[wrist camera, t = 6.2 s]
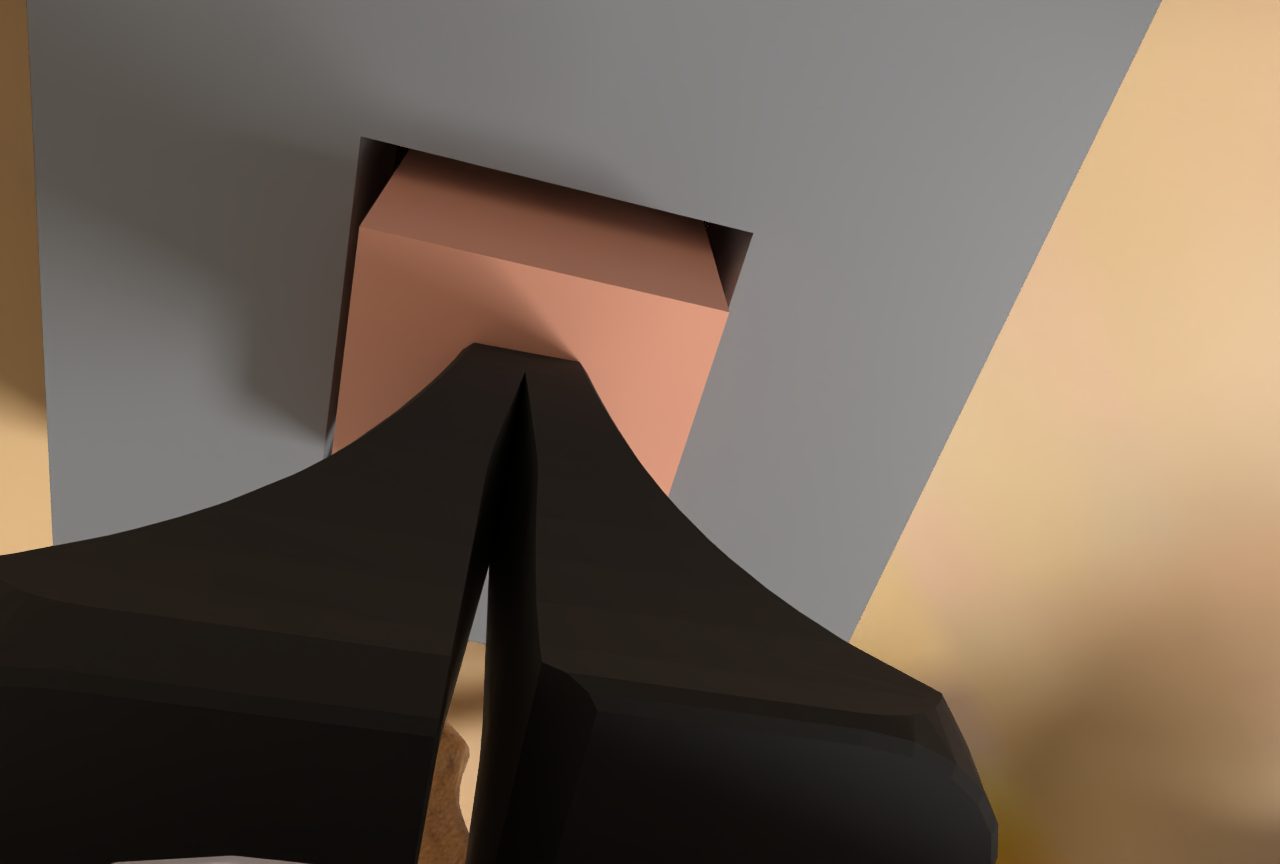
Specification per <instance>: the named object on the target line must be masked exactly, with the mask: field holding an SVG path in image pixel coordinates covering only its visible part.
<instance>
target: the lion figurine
mask: <svg viewBox="0 0 1280 864" xmlns="http://www.w3.org/2000/svg"><path fill="white" fill-rule="evenodd" d="M468 759H469V747H468V745H467V744H466V742H465V740H464V739H463V738H462V737H461V736H460V735H459V734H458V733H457V731H456V730H455V729H454V728H453V727H452V726H451V725H450V723H449V722H448V721H447V720H445V724H444V728H443V733H442V737H441V741H440V745H439V750H438V754H437V759H436V765H435V770H434V776H433V781H432V787H431V793H430V798H429V804H428V809H427V815H426V820H425V826H424V832H423V837H422V843H421V848H420V854H419V860H418V864H465V860H466V853H467V846H468V839H469V832H468V830H467V827H466V825H465V822H464V819H463V816H462V813H461V809H460V805H459V793H460V784H461V779H462V775H463V772H464V770H465V767H466V764H467V762H468Z"/></svg>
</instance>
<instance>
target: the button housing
mask: <svg viewBox="0 0 1280 864" xmlns="http://www.w3.org/2000/svg"><path fill="white" fill-rule="evenodd" d="M26 1H27V21H28V42H29V62H30V83H31V103H32V124H33V144H34V165H35V185H36V206H37V226H38V247H39V267H40V288H41V308H42V329H43V349H44V370H45V390H46V411H47V431H48V452H49V472H50V493H51V513H52V534H53V546H55V545H61V544H66V543H71V542H76V541H81V540H87V539H92V538H97V537H102V536H107V535H111V534H116V533H120V532H124V531H128V530H132V529H136V528H140V527H144V526H147V525H151V524H155V523H158V522H162V521H166V520H169V519H173V518H177V517H180V516H183V515H186V514H190V513H193V512H196V511H199V510H202V509H205V508H209V507H212V506H215V505H218V504H221V503H224V502H226V501H229V500H232V499H234V498H236V497H239V496H241V495H244V494H246V493H249V492H251V491H254V490H256V489H259V488H261V487H264V486H266V485H269V484H271V483H274V482H276V481H279V480H281V479H283V478H286V477H288V476H291V475H293V474H295V473H297V472H300V471H302V470H304V469H306V468H308V467H310V466H312V465H314V464H315V463H317V462H319V461H321V460H323V459H325V458H327V457H329V456H331V455H332V447H333V439H334V431H335V423H336V414H337V406H338V398H339V390H340V382H341V373H342V365H343V357H344V349H345V341H346V332H347V324H348V316H349V308H350V299H351V291H352V283H353V275H354V267H355V258H356V250H357V242H358V234H359V226H360V225H361V223H362V222H363V220H364V219H365V217H366V216H367V214H368V212H369V211H370V209H371V208H372V206H373V205H374V203H375V202H376V200H377V199H378V197H379V195H380V194H381V192H382V191H383V189H384V188H385V186H386V185H387V183H388V182H389V180H390V179H391V177H392V175H393V169H394V162H395V155H396V147H397V145H398V146H402V147H406V148H410V149H415V150H419V151H423V152H427V153H431V154H435V155H439V156H443V157H447V158H451V159H455V160H459V161H463V162H467V163H471V164H475V165H479V166H484V167H488V168H492V169H496V170H500V171H504V172H508V173H512V174H516V175H520V176H524V177H528V178H532V179H536V180H540V181H544V182H548V183H553V184H557V185H561V186H565V187H569V188H573V189H577V190H581V191H585V192H589V193H593V194H597V195H601V196H605V197H609V198H613V199H617V200H621V201H626V202H630V203H634V204H638V205H642V206H646V207H650V208H654V209H658V210H662V211H666V212H670V213H674V214H678V215H682V216H686V217H690V218H695V219H699V220H703V221H707V222H709V224H708V228H707V231H706V232H707V236H708V239H709V243H710V246H711V250H712V253H713V257H714V260H715V264H716V267H717V271H718V274H719V278H720V281H721V284H722V288H723V291H724V295H725V298H726V302H727V305H728V309H729V315H728V318H727V321H726V324H725V327H724V330H723V333H722V336H721V339H720V342H719V345H718V348H717V351H716V354H715V357H714V360H713V363H712V366H711V369H710V372H709V375H708V378H707V381H706V384H705V387H704V390H703V393H702V396H701V399H700V402H699V405H698V408H697V411H696V414H695V417H694V420H693V423H692V426H691V429H690V432H689V435H688V438H687V441H686V444H685V447H684V450H683V453H682V456H681V459H680V462H679V465H678V468H677V471H676V474H675V477H674V480H673V483H672V486H671V489H670V492H669V495H668V497H669V499H670V500H671V501H672V502H673V503H674V504H675V505H676V506H677V508H678V509H679V510H680V511H681V512H682V513H683V514H684V515H685V516H686V517H687V518H688V519H689V520H690V521H691V522H692V523H693V524H694V525H695V526H696V527H697V528H698V529H699V530H700V531H701V532H702V533H703V534H704V535H705V536H706V537H707V538H708V539H709V540H710V541H711V542H712V543H713V544H715V545H716V546H717V547H718V548H719V549H720V550H721V551H722V552H723V553H725V554H726V555H727V556H728V557H729V558H730V559H731V560H733V561H734V562H735V563H736V564H738V565H739V566H740V567H741V568H743V569H744V570H745V571H746V572H748V573H749V574H750V575H751V576H752V577H754V578H755V579H756V580H757V581H759V582H760V583H761V584H762V585H764V586H765V587H766V588H767V589H769V590H770V591H771V592H773V593H774V594H776V595H777V596H778V597H780V598H781V599H783V600H784V601H785V602H787V603H788V604H789V605H791V606H792V607H794V608H795V609H796V610H798V611H799V612H801V613H802V614H804V615H806V616H807V617H809V618H810V619H812V620H813V621H815V622H816V623H818V624H819V625H821V626H823V627H824V628H826V629H827V630H829V631H830V632H832V633H833V634H835V635H836V636H838V637H840V638H841V639H843V640H844V641H846V642H849V640H850V638H851V636H852V634H853V632H854V630H855V628H856V626H857V624H858V622H859V620H860V618H861V616H862V614H863V612H864V610H865V608H866V606H867V604H868V601H869V599H870V597H871V595H872V593H873V591H874V589H875V587H876V585H877V583H878V581H879V579H880V577H881V575H882V573H883V571H884V569H885V567H886V565H887V563H888V561H889V558H890V556H891V554H892V552H893V550H894V548H895V546H896V544H897V542H898V540H899V538H900V536H901V534H902V532H903V530H904V528H905V526H906V524H907V522H908V520H909V518H910V515H911V513H912V511H913V509H914V507H915V505H916V503H917V501H918V499H919V497H920V495H921V493H922V491H923V489H924V487H925V485H926V483H927V481H928V479H929V477H930V474H931V472H932V470H933V468H934V466H935V464H936V462H937V460H938V458H939V456H940V454H941V452H942V450H943V448H944V446H945V444H946V442H947V440H948V438H949V436H950V434H951V431H952V429H953V427H954V425H955V423H956V421H957V419H958V417H959V415H960V413H961V411H962V409H963V407H964V405H965V403H966V401H967V399H968V397H969V395H970V393H971V391H972V388H973V386H974V384H975V382H976V380H977V378H978V376H979V374H980V372H981V370H982V368H983V366H984V364H985V362H986V360H987V358H988V356H989V354H990V352H991V350H992V348H993V345H994V343H995V341H996V339H997V337H998V335H999V333H1000V331H1001V329H1002V327H1003V325H1004V323H1005V321H1006V319H1007V317H1008V315H1009V313H1010V311H1011V309H1012V307H1013V305H1014V302H1015V300H1016V298H1017V296H1018V294H1019V292H1020V290H1021V288H1022V286H1023V284H1024V282H1025V280H1026V278H1027V276H1028V274H1029V272H1030V270H1031V268H1032V266H1033V264H1034V261H1035V259H1036V257H1037V255H1038V253H1039V251H1040V249H1041V247H1042V245H1043V243H1044V241H1045V239H1046V237H1047V235H1048V233H1049V231H1050V229H1051V227H1052V225H1053V223H1054V221H1055V218H1056V216H1057V214H1058V212H1059V210H1060V208H1061V206H1062V204H1063V202H1064V200H1065V198H1066V196H1067V194H1068V192H1069V190H1070V188H1071V186H1072V184H1073V182H1074V180H1075V178H1076V175H1077V173H1078V171H1079V169H1080V167H1081V165H1082V163H1083V161H1084V159H1085V157H1086V155H1087V153H1088V151H1089V149H1090V147H1091V145H1092V143H1093V141H1094V139H1095V137H1096V135H1097V132H1098V130H1099V128H1100V126H1101V124H1102V122H1103V120H1104V118H1105V116H1106V114H1107V112H1108V110H1109V108H1110V106H1111V104H1112V102H1113V100H1114V98H1115V96H1116V94H1117V92H1118V89H1119V87H1120V85H1121V83H1122V81H1123V79H1124V77H1125V75H1126V73H1127V71H1128V69H1129V67H1130V65H1131V63H1132V61H1133V59H1134V57H1135V55H1136V53H1137V51H1138V48H1139V46H1140V44H1141V42H1142V40H1143V38H1144V36H1145V34H1146V32H1147V30H1148V28H1149V26H1150V24H1151V22H1152V20H1153V18H1154V16H1155V14H1156V12H1157V10H1158V8H1159V5H1160V3H1161V1H1162V0H26ZM488 578H489V568H488V572H487V575H486V579H485V582H484V586H483V590H482V593H481V597H480V600H479V604H478V607H477V611H476V614H475V618H474V621H473V625H472V628H471V632H470V635H469V639H468V641H472V642H478V643H484V644H486V627H487V602H488Z"/></svg>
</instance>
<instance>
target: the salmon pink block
mask: <svg viewBox="0 0 1280 864" xmlns="http://www.w3.org/2000/svg"><path fill="white" fill-rule="evenodd" d="M728 315H729V309H728V305H727V302H726V298H725V295H724V291H723V288H722V284H721V281H720V278H719V274H718V271H717V267H716V264H715V260H714V257H713V253H712V250H711V246H710V243H709V239H708V236H707V232H706V229H705V225H704V222H703V220H699V219H695V218H690V217H686V216H682V215H678V214H674V213H670V212H666V211H662V210H658V209H654V208H650V207H646V206H642V205H638V204H634V203H630V202H626V201H621V200H617V199H613V198H609V197H605V196H601V195H597V194H593V193H589V192H585V191H581V190H577V189H573V188H569V187H565V186H561V185H557V184H553V183H548V182H544V181H540V180H536V179H532V178H528V177H524V176H520V175H516V174H512V173H508V172H504V171H500V170H496V169H492V168H488V167H484V166H479V165H475V164H471V163H467V162H463V161H459V160H455V159H451V158H447V157H443V156H439V155H435V154H431V153H427V152H423V151H419V150H415V149H409V151H408V152H407V154H406V155H405V157H404V159H403V160H402V162H401V163H400V165H399V166H398V168H397V169H396V171H395V172H394V174H393V175H392V177H391V179H390V180H389V182H388V183H387V185H386V186H385V188H384V189H383V191H382V192H381V194H380V195H379V197H378V199H377V200H376V202H375V203H374V205H373V206H372V208H371V209H370V211H369V212H368V214H367V216H366V217H365V219H364V220H363V222H362V223H361V225H360V226H359V234H358V242H357V250H356V258H355V267H354V275H353V283H352V291H351V299H350V308H349V316H348V324H347V332H346V341H345V349H344V357H343V365H342V373H341V382H340V390H339V398H338V406H337V414H336V423H335V431H334V439H333V447H332V454H334V453H336V452H337V451H339V450H341V449H342V448H344V447H345V446H347V445H349V444H350V443H352V442H353V441H355V440H357V439H358V438H359V437H361V436H362V435H364V434H365V433H366V432H368V431H369V430H371V429H372V428H374V427H375V426H376V425H378V424H379V423H381V422H382V421H383V420H385V419H386V418H388V417H389V416H391V415H392V414H393V413H395V412H396V411H397V410H398V409H400V408H401V407H402V406H403V405H405V404H406V403H407V402H408V401H409V400H410V399H412V398H413V397H414V396H415V395H416V394H418V393H419V392H420V391H421V390H422V389H424V388H425V387H426V386H427V385H428V384H429V383H430V382H432V381H433V380H434V379H435V378H436V377H437V376H438V375H439V374H440V373H441V372H442V371H443V370H444V369H445V368H446V367H447V366H448V365H449V364H450V363H451V362H452V361H453V360H454V359H455V358H456V357H457V356H458V355H459V353H460V352H461V351H462V350H463V349H464V348H466V347H467V346H469V345H471V344H472V343H480V344H485V345H490V346H496V347H501V348H507V349H512V350H518V351H523V352H528V353H534V354H539V355H545V356H550V357H556V358H562V359H567V360H572V361H578V362H580V363H581V364H582V366H583V368H584V369H585V371H586V372H587V374H588V376H589V378H590V380H591V382H592V384H593V386H594V388H595V389H596V391H597V393H598V395H599V397H600V399H601V401H602V402H603V404H604V406H605V408H606V409H607V411H608V413H609V415H610V416H611V418H612V420H613V421H614V423H615V425H616V426H617V428H618V430H619V431H620V433H621V434H622V436H623V437H624V439H625V440H626V442H627V443H628V445H629V446H630V448H631V449H632V451H633V452H634V454H635V455H636V457H637V458H638V460H639V461H640V463H641V464H642V465H643V467H644V468H645V469H646V470H647V472H648V473H649V474H650V475H651V477H652V478H653V479H654V480H655V482H656V483H657V484H658V485H659V487H660V488H661V489H662V491H663V492H664V493H665V494H666V495H667V496H668V495H669V492H670V489H671V486H672V483H673V480H674V477H675V474H676V471H677V468H678V465H679V462H680V459H681V456H682V453H683V450H684V447H685V444H686V441H687V438H688V435H689V432H690V429H691V426H692V423H693V420H694V417H695V414H696V411H697V408H698V405H699V402H700V399H701V396H702V393H703V390H704V387H705V384H706V381H707V378H708V375H709V372H710V369H711V366H712V363H713V360H714V357H715V354H716V351H717V348H718V345H719V342H720V339H721V336H722V333H723V330H724V327H725V324H726V321H727V318H728Z"/></svg>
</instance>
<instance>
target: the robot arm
mask: <svg viewBox="0 0 1280 864" xmlns="http://www.w3.org/2000/svg"><path fill="white" fill-rule="evenodd" d="M488 568H489V578H488V602H487V627H486V653H485V679H484V705H483V727H482V739H481V751H480V762H479V769H478V776H477V783H476V790H475V797H474V804H473V811H472V818H471V825H470V832H469V839H468V846H467V853H466V860H465V864H995V862H996V860H997V848H998V823H997V820H996V818H995V815H994V813H993V810H992V808H991V806H990V803H989V801H988V798H987V796H986V793H985V791H984V789H983V786H982V783H981V780H980V777H979V774H978V772H977V769H976V767H975V764H974V762H973V759H972V756H971V754H970V751H969V749H968V746H967V744H966V742H965V740H964V738H963V736H962V733H961V731H960V729H959V727H958V725H957V723H956V721H955V719H954V717H953V715H952V713H951V711H950V709H949V707H948V705H947V703H946V701H945V699H944V697H943V695H942V693H940V692H938V691H936V690H935V689H933V688H931V687H929V686H927V685H925V684H923V683H922V682H920V681H918V680H916V679H914V678H912V677H910V676H908V675H907V674H905V673H903V672H901V671H899V670H897V669H895V668H894V667H892V666H890V665H888V664H886V663H884V662H882V661H880V660H879V659H877V658H875V657H873V656H871V655H869V654H867V653H866V652H864V651H862V650H860V649H858V648H856V647H854V646H853V645H851V644H849V643H848V642H846V641H844V640H843V639H841V638H840V637H838V636H836V635H835V634H833V633H832V632H830V631H829V630H827V629H826V628H824V627H823V626H821V625H819V624H818V623H816V622H815V621H813V620H812V619H810V618H809V617H807V616H806V615H804V614H802V613H801V612H799V611H798V610H796V609H795V608H794V607H792V606H791V605H789V604H788V603H787V602H785V601H784V600H783V599H781V598H780V597H778V596H777V595H776V594H774V593H773V592H771V591H770V590H769V589H767V588H766V587H765V586H764V585H762V584H761V583H760V582H759V581H757V580H756V579H755V578H754V577H752V576H751V575H750V574H749V573H748V572H746V571H745V570H744V569H743V568H741V567H740V566H739V565H738V564H736V563H735V562H734V561H733V560H731V559H730V558H729V557H728V556H727V555H726V554H725V553H723V552H722V551H721V550H720V549H719V548H718V547H717V546H716V545H715V544H713V543H712V542H711V541H710V540H709V539H708V538H707V537H706V536H705V535H704V534H703V533H702V532H701V531H700V530H699V529H698V528H697V527H696V526H695V525H694V524H693V523H692V522H691V521H690V520H689V519H688V518H687V517H686V516H685V515H684V514H683V513H682V512H681V511H680V510H679V509H678V508H677V506H676V505H675V504H674V503H673V502H672V501H671V500H670V499H669V497H668V496H667V495H666V494H665V493H664V492H663V491H662V489H661V488H660V487H659V485H658V484H657V483H656V482H655V480H654V479H653V478H652V477H651V475H650V474H649V473H648V472H647V470H646V469H645V468H644V467H643V465H642V464H641V463H640V461H639V460H638V458H637V457H636V455H635V454H634V452H633V451H632V449H631V448H630V446H629V445H628V443H627V442H626V440H625V439H624V437H623V436H622V434H621V433H620V431H619V430H618V428H617V426H616V425H615V423H614V421H613V420H612V418H611V416H610V415H609V413H608V411H607V409H606V408H605V406H604V404H603V402H602V401H601V399H600V397H599V395H598V393H597V391H596V389H595V388H594V386H593V384H592V382H591V380H590V378H589V376H588V374H587V372H586V371H585V369H584V368H583V366H582V364H581V363H580V362H578V361H572V360H567V359H562V358H556V357H550V356H545V355H539V354H534V353H528V352H523V351H518V350H512V349H507V348H501V347H496V346H490V345H485V344H480V343H472V344H471V345H469V346H467V347H466V348H464V349H463V350H462V351H461V352H460V353H459V355H458V356H457V357H456V358H455V359H454V360H453V361H452V362H451V363H450V364H449V365H448V366H447V367H446V368H445V369H444V370H443V371H442V372H441V373H440V374H439V375H438V376H437V377H436V378H435V379H434V380H433V381H432V382H430V383H429V384H428V385H427V386H426V387H425V388H424V389H422V390H421V391H420V392H419V393H418V394H416V395H415V396H414V397H413V398H412V399H410V400H409V401H408V402H407V403H406V404H405V405H403V406H402V407H401V408H400V409H398V410H397V411H396V412H395V413H393V414H392V415H391V416H389V417H388V418H386V419H385V420H383V421H382V422H381V423H379V424H378V425H376V426H375V427H374V428H372V429H371V430H369V431H368V432H366V433H365V434H364V435H362V436H361V437H359V438H358V439H357V440H355V441H353V442H352V443H350V444H349V445H347V446H345V447H344V448H342V449H341V450H339V451H337V452H336V453H334V454H332V455H331V456H329V457H327V458H325V459H323V460H321V461H319V462H317V463H315V464H314V465H312V466H310V467H308V468H306V469H304V470H302V471H300V472H297V473H295V474H293V475H291V476H288V477H286V478H283V479H281V480H279V481H276V482H274V483H271V484H269V485H266V486H264V487H261V488H259V489H256V490H254V491H251V492H249V493H246V494H244V495H241V496H239V497H236V498H234V499H232V500H229V501H226V502H224V503H221V504H218V505H215V506H212V507H209V508H205V509H202V510H199V511H196V512H193V513H190V514H186V515H183V516H180V517H177V518H173V519H169V520H166V521H162V522H158V523H155V524H151V525H147V526H144V527H140V528H136V529H132V530H128V531H124V532H120V533H116V534H111V535H107V536H102V537H97V538H92V539H87V540H81V541H76V542H71V543H66V544H61V545H55V546H50V547H45V548H40V549H35V550H30V551H24V552H19V553H14V554H7V555H1V556H0V864H418V860H419V854H420V848H421V843H422V837H423V832H424V826H425V820H426V815H427V809H428V804H429V798H430V793H431V787H432V781H433V776H434V770H435V765H436V759H437V754H438V750H439V745H440V741H441V737H442V733H443V728H444V724H445V720H446V716H447V713H448V709H449V706H450V702H451V699H452V695H453V692H454V688H455V685H456V681H457V678H458V674H459V671H460V667H461V664H462V660H463V657H464V653H465V650H466V646H467V643H468V639H469V635H470V632H471V628H472V625H473V621H474V618H475V614H476V611H477V607H478V604H479V600H480V597H481V593H482V590H483V586H484V582H485V579H486V575H487V572H488Z"/></svg>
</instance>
